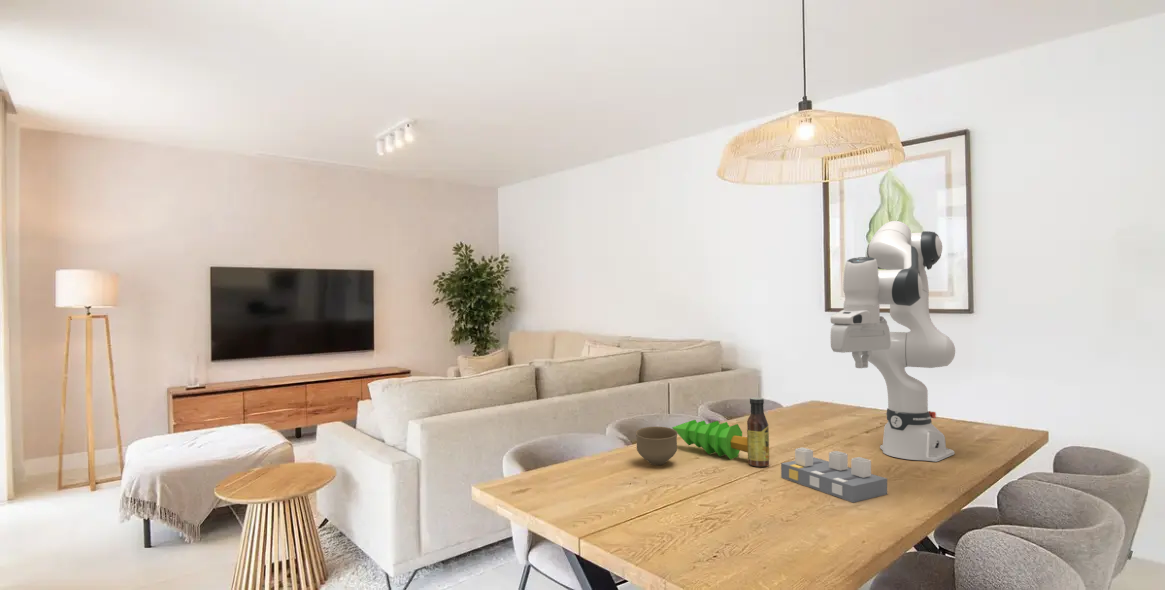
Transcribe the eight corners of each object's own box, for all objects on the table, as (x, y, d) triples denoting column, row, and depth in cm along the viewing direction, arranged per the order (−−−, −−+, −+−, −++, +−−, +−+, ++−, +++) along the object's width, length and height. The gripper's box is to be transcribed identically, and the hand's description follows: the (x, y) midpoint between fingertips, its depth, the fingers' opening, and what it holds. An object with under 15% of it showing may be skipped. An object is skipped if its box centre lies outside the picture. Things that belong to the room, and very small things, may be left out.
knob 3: (859, 472, 155) (859, 456, 155) (871, 476, 152) (870, 459, 152) (851, 474, 154) (851, 458, 154) (863, 477, 151) (863, 461, 151)
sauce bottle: (771, 468, 174) (769, 400, 174) (749, 467, 175) (747, 400, 175) (767, 462, 180) (766, 396, 181) (746, 461, 181) (745, 396, 182)
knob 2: (836, 465, 161) (836, 450, 161) (847, 469, 158) (847, 453, 158) (829, 467, 160) (828, 451, 160) (840, 470, 157) (839, 454, 157)
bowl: (630, 467, 176) (630, 433, 176) (642, 456, 187) (642, 425, 188) (672, 471, 171) (672, 437, 171) (681, 460, 183) (681, 428, 183)
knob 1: (802, 462, 165) (802, 447, 165) (813, 465, 162) (812, 449, 162) (795, 463, 164) (795, 448, 164) (805, 466, 161) (805, 451, 161)
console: (813, 471, 171) (813, 456, 171) (887, 494, 151) (887, 477, 151) (780, 477, 165) (780, 462, 165) (852, 502, 145) (852, 485, 145)
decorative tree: (749, 423, 178) (667, 407, 199) (741, 461, 175) (658, 440, 196) (765, 432, 186) (684, 415, 207) (757, 468, 183) (676, 448, 204)
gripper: (875, 315, 168) (876, 364, 168) (826, 317, 158) (826, 368, 158) (896, 316, 162) (897, 366, 162) (846, 317, 153) (846, 371, 153)
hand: (861, 367), depth 160 cm, fingers closed
